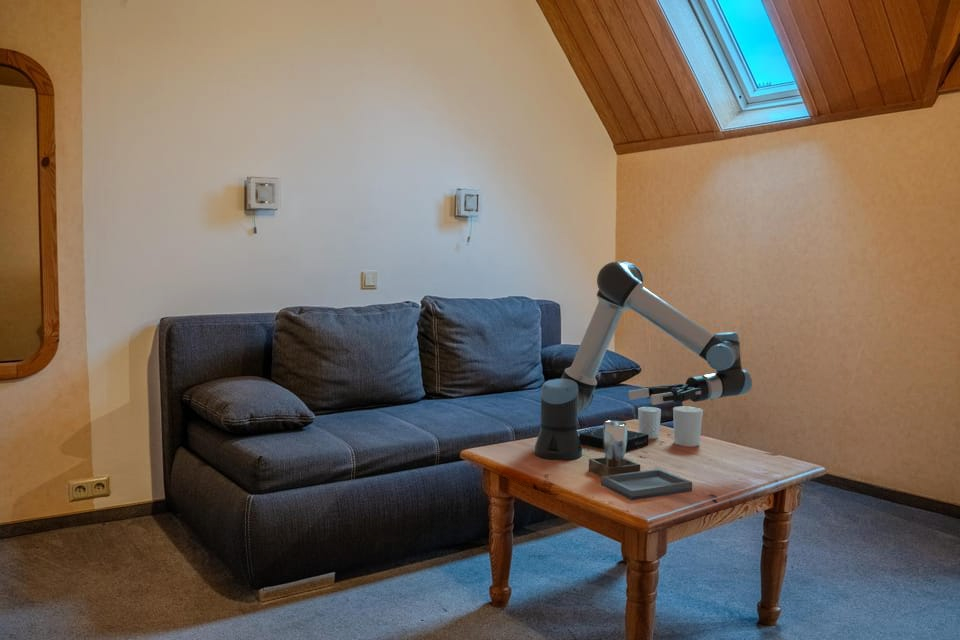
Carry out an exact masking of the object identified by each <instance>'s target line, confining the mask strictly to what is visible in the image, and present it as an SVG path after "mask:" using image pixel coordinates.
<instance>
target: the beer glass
mask: <svg viewBox="0 0 960 640" xmlns="http://www.w3.org/2000/svg"><path fill="white" fill-rule="evenodd" d="M603 428H604V430H603V446H604V450H603V451H604V457H605V465H606V466H608V467H618V466H624V458H625V456H626V455H625V454H626V452H627V451H626V446H627V430H628V423H627V422H625V421H621V420H607V421H604V423H603ZM625 451H626V452H625Z"/></svg>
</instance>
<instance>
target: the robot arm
mask: <svg viewBox="0 0 960 640" xmlns="http://www.w3.org/2000/svg"><path fill="white" fill-rule="evenodd" d="M596 284H597V288H598V290H597V293H596V298H597V300H598V303H597V305H596V307H595V309H594V312H593V314H592V316H591V320H590V321H589V323H588V326H587V329H586V330H585V333H584V335H583V338H582V340H581V342H580V344H579V347H578V350H577V352H576V353H575V357H574V359H573V361H572V364H571V365H570V366H569V367H567V368H565V369H564V371H563V373H562V376H561V377H560V378H553V379H548V380H547V381H544V383H543V384H542V385H541V391H540V430H539V432H538V435H537V438H536V442H535V445H534V454H535V455H536V456H537V457H539V458H543V459H548V460H559V461H561V460H562V461H568V460H569V461H570V460H574V459H578V458H581V457H582V456H583V448H582V447H583V446H582V444H581V443H580V440H579V433H578V414H581V413H582V412H584V411H586V410H587V409H588V408H589V407H590V406H591V405H592V402H593V401H594V397H595V396H594V395H595V390H596V387H597V384H598V381H597V379H596V375H597V373H598V371H599V368H600V367H601V364H602V362H603V360H604V357H605V355H606V353H607V350H608V348H609V345H610V343H611V340H613V336H614V334H615V331H616V329H617V327H618V326H619V323H620V320H621V318H622V315H623V313H624V312H625V311H628V310H632V311H633V312H635V313H636V314H637V315H639V316H641V317H642V318H643V319H644V320H646V321H648V322H649V323H651V324H653V325H654V326H655V327H656V328H658V329H660V330H661V331H663V332H664V333H665V334H667V335H668V336H669V337H671V338H673V339H674V340H675V341H677V342H679V343H680V344H681V345H683V346H684V347H686V348H687V349H689V351H692V352H693V353H695V354H696V355H697V356H699V357H700V358H701V359H703V360H704V361H706V363H707V364H708V366H709V367H710V368H712V369H713V370H715V372H716V373H709V374H708V373H707V374H703V375H694V376H690V377H689V378H687V379H686V382H685V384H684V383H678V384H677V383H675V384H667V385H656V386H645V388H639V389H632V390H628V394H627V395H628V400H630V401H633V400H639V399H644V398H645V399H648V400H649V399H650V402H651V405H652V406H654V405H661V404H667V403H673V402H680V403H683V402H687V401H691V402H694V403H696V402H703V401H708V400H710V401H711V402H714V400H715V399H719V398H728V397H734V396H736V397H737V396H740V395H744V394H746V393H749V392H750V390H751V389H752V386H753V379H752V377H751V373H750V372H748V371H747V370H746V369H743V367H742V359H741V346H740V345H741V342H740V338H739V334H738V333H737V332H735V331H734V332H733V331H727V332H719V333H715V334H713V333H712V332H711V331H709V330H708V329H706V328H704V327H703V326H701V325H700V324H699V323H697V322H696V321H694V320H692V319H691V318H690V317H688V316H687V315H685V314H684V313H682V312H681V311H679V310H678V309H676V308H675V307H674V306H672V305H671V304H669V303H668V302H667V301H665V300H663V299H662V298H660V297H659V296H657V295H656V294H654V293H653V292H651V291H650V290H649V289H647V288H645V287H644V276H643V272H642V271H641V269H640V268H639V267H638V266H637V265H636V264H634V263H632V262H629V261H612V262H611V261H610V262H609V263H607V264H605V265H603V267H601V268H600V270H599V272H598V274H597V277H596Z"/></svg>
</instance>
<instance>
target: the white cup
mask: <svg viewBox="0 0 960 640" xmlns="http://www.w3.org/2000/svg"><path fill="white" fill-rule="evenodd" d="M661 416H662V409H661V408H658V407H653V406H642V407H641V406H640V407H638V408H637V420H638V421H637V422H638V424H637V425H638V426H637V427H638V433H643V434H648V440H655V439H658V438H659V432H660V426H661V425H660V424H661Z"/></svg>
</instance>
